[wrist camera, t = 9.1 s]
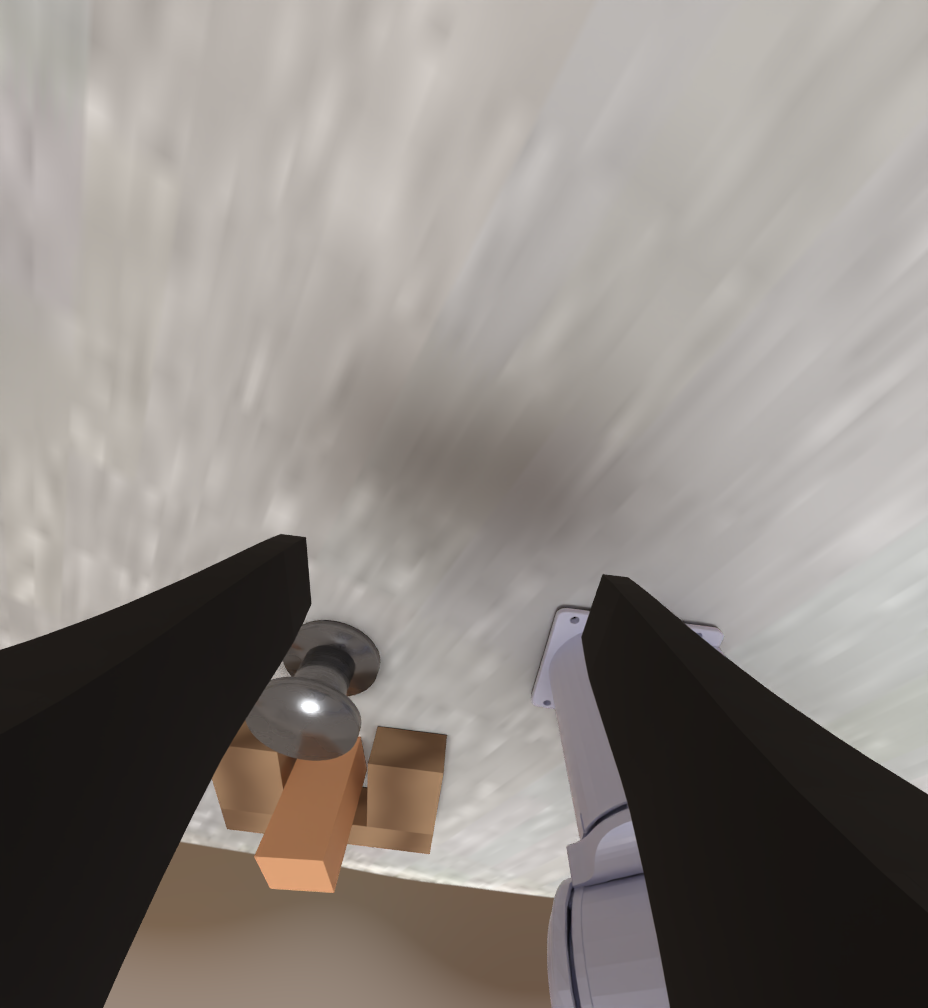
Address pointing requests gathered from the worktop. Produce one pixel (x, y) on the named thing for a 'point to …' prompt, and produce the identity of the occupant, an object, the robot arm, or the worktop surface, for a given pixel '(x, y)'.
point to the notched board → (381, 807)
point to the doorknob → (317, 693)
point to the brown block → (313, 823)
